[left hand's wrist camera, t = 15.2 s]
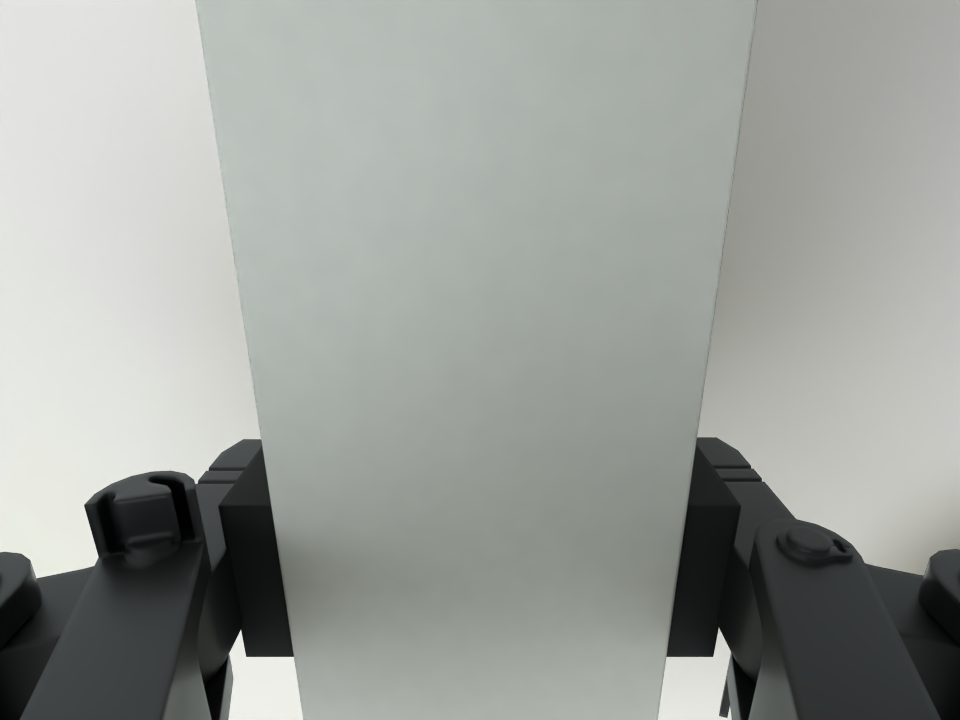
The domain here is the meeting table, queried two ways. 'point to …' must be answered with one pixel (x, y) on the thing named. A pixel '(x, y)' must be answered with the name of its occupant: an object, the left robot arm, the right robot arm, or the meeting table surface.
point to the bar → (478, 332)
